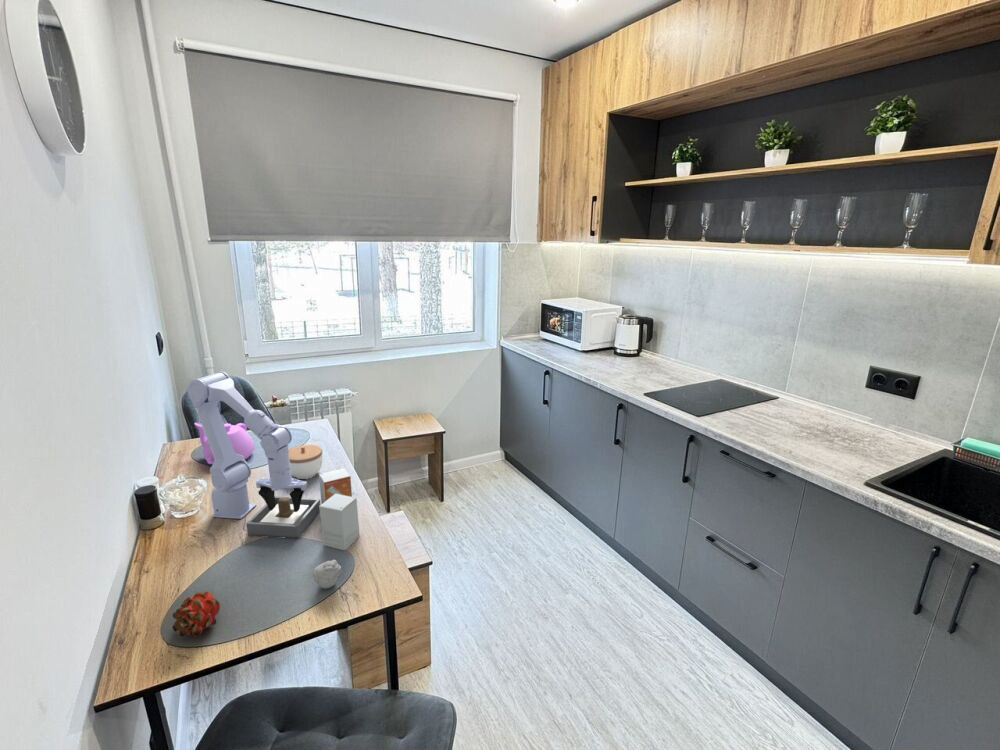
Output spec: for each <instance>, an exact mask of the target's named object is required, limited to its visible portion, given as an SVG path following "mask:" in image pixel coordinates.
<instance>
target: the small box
mask: <svg viewBox="0 0 1000 750" xmlns="http://www.w3.org/2000/svg"><path fill="white" fill-rule="evenodd" d="M318 480H319V490H320V491H319V492H320V501H321V504H323V503H324V502H325V501H327V500H328V499H329V498H330V497H332V496H333V495H334V494H340V495H345V496H350V497H353V493H352V492H353V490H352V477H351V475H350V473H349V472H348V470H347V468H346V467H345V468H340V469H339V468H338V469H335V470H330V471H327V472H324V473H323V472H322V473H319V474H318Z"/></svg>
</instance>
